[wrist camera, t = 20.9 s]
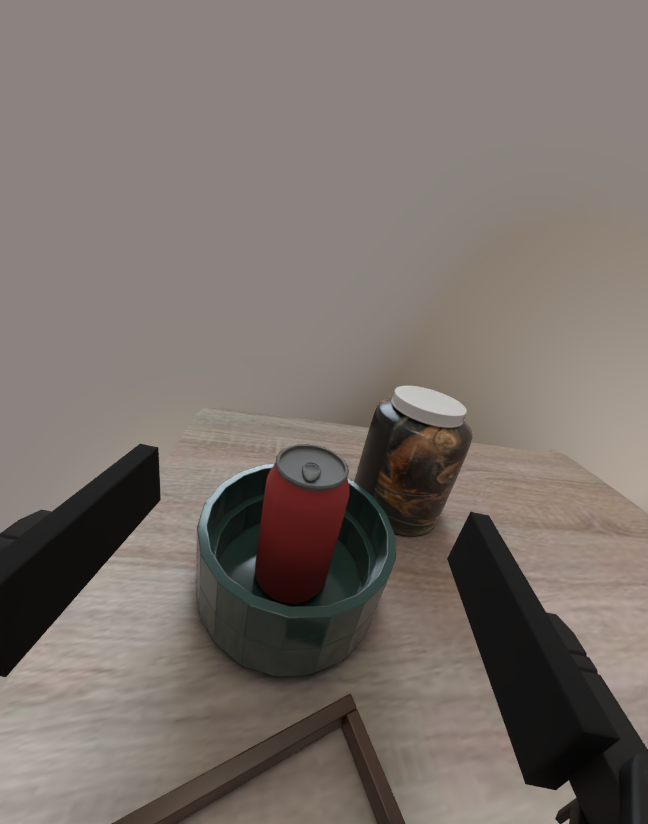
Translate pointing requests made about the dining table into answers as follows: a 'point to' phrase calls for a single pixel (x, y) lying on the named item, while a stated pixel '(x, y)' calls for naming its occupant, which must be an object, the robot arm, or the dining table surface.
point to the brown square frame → (163, 813)
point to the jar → (414, 456)
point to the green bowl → (276, 621)
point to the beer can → (300, 522)
